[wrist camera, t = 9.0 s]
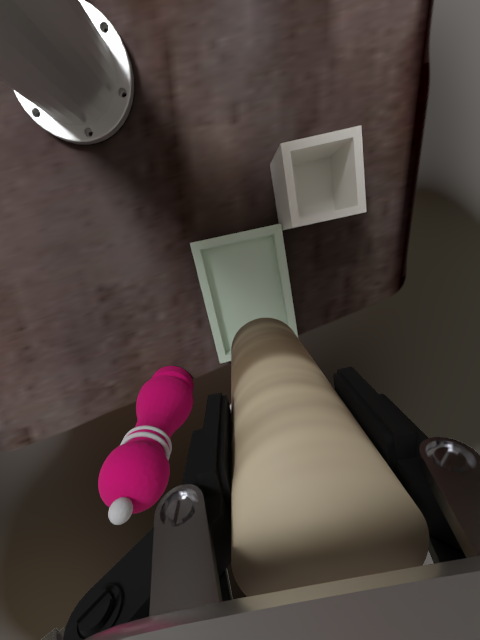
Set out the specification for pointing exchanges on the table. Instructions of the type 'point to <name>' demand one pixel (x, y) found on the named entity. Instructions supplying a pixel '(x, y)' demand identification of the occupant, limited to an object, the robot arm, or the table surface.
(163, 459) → the pepper mill
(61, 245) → the table surface
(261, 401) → the beige ringed cylinder
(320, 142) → the box
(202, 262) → the tray
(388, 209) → the table surface
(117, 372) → the table surface
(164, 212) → the table surface
